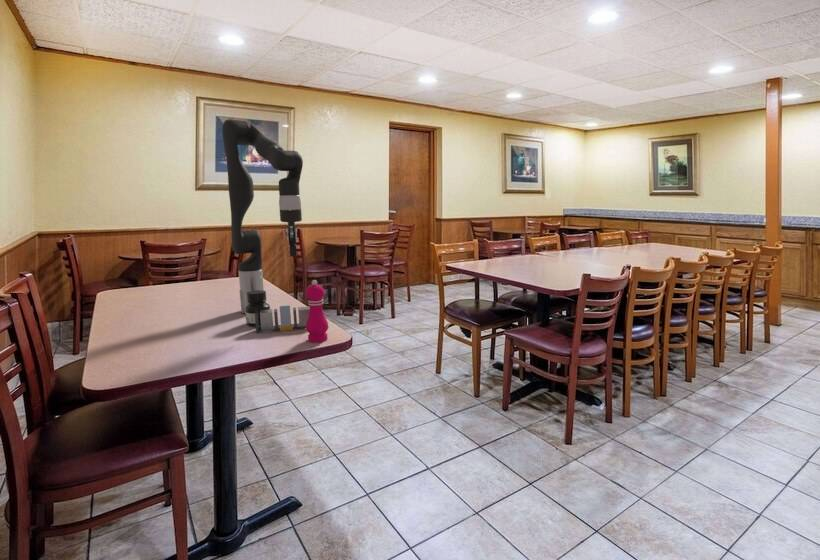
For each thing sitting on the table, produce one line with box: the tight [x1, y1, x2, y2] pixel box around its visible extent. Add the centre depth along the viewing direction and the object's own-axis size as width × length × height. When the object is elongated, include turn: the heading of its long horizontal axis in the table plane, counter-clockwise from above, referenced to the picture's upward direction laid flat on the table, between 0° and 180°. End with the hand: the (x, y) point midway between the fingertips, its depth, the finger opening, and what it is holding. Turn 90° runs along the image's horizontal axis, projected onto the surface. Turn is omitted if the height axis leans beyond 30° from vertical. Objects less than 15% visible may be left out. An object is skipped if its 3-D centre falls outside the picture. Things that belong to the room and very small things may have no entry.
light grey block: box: [279, 304, 292, 326], centre depth 175 cm, size 4×5×7 cm
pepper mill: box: [305, 279, 329, 343], centre depth 159 cm, size 7×7×20 cm
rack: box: [255, 305, 310, 334], centre depth 174 cm, size 20×5×7 cm, turn 104°
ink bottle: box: [244, 290, 271, 327], centre depth 182 cm, size 10×9×12 cm
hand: (293, 256), depth 178 cm, fingers closed
